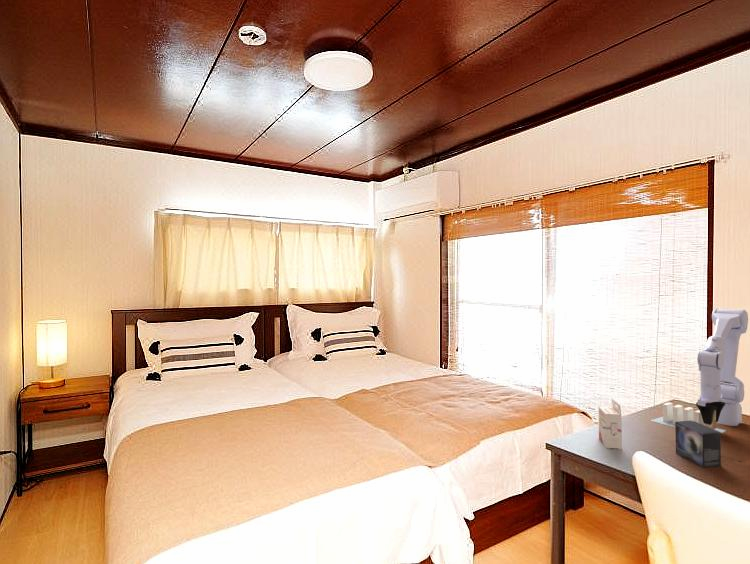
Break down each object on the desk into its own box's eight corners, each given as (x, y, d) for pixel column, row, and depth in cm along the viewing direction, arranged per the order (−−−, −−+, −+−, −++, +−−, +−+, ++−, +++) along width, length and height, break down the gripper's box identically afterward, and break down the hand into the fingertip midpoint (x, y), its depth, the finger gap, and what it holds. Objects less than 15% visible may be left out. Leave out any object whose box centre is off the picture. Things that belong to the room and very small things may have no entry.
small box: (673, 453, 135) (673, 420, 135) (692, 452, 136) (692, 419, 135) (702, 468, 124) (701, 432, 124) (722, 466, 125) (722, 431, 125)
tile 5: (668, 418, 164) (668, 402, 164) (672, 419, 163) (672, 403, 163) (662, 420, 162) (662, 404, 162) (667, 422, 161) (666, 405, 161)
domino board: (666, 417, 169) (666, 415, 169) (726, 432, 151) (726, 430, 151) (649, 422, 163) (649, 420, 163) (711, 439, 145) (711, 437, 145)
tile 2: (700, 426, 155) (699, 409, 155) (704, 428, 154) (704, 410, 154) (694, 429, 153) (694, 411, 153) (698, 430, 152) (698, 412, 152)
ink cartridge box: (597, 438, 148) (597, 397, 147) (613, 439, 147) (612, 397, 146) (606, 448, 139) (605, 404, 139) (622, 449, 138) (622, 405, 138)
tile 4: (678, 421, 161) (678, 404, 161) (683, 422, 160) (683, 405, 160) (672, 423, 159) (672, 406, 159) (677, 424, 158) (677, 407, 158)
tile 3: (689, 424, 158) (689, 407, 158) (693, 425, 157) (693, 408, 157) (683, 426, 156) (683, 409, 156) (687, 427, 155) (687, 410, 155)
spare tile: (711, 427, 152) (711, 409, 152) (716, 428, 151) (716, 410, 151) (705, 429, 150) (705, 411, 150) (710, 430, 149) (710, 412, 149)
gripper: (714, 390, 143) (714, 429, 143) (733, 384, 150) (733, 422, 150) (690, 385, 149) (691, 423, 149) (709, 380, 156) (710, 416, 157)
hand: (710, 422), depth 150 cm, fingers closed on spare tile, 4 cm apart
